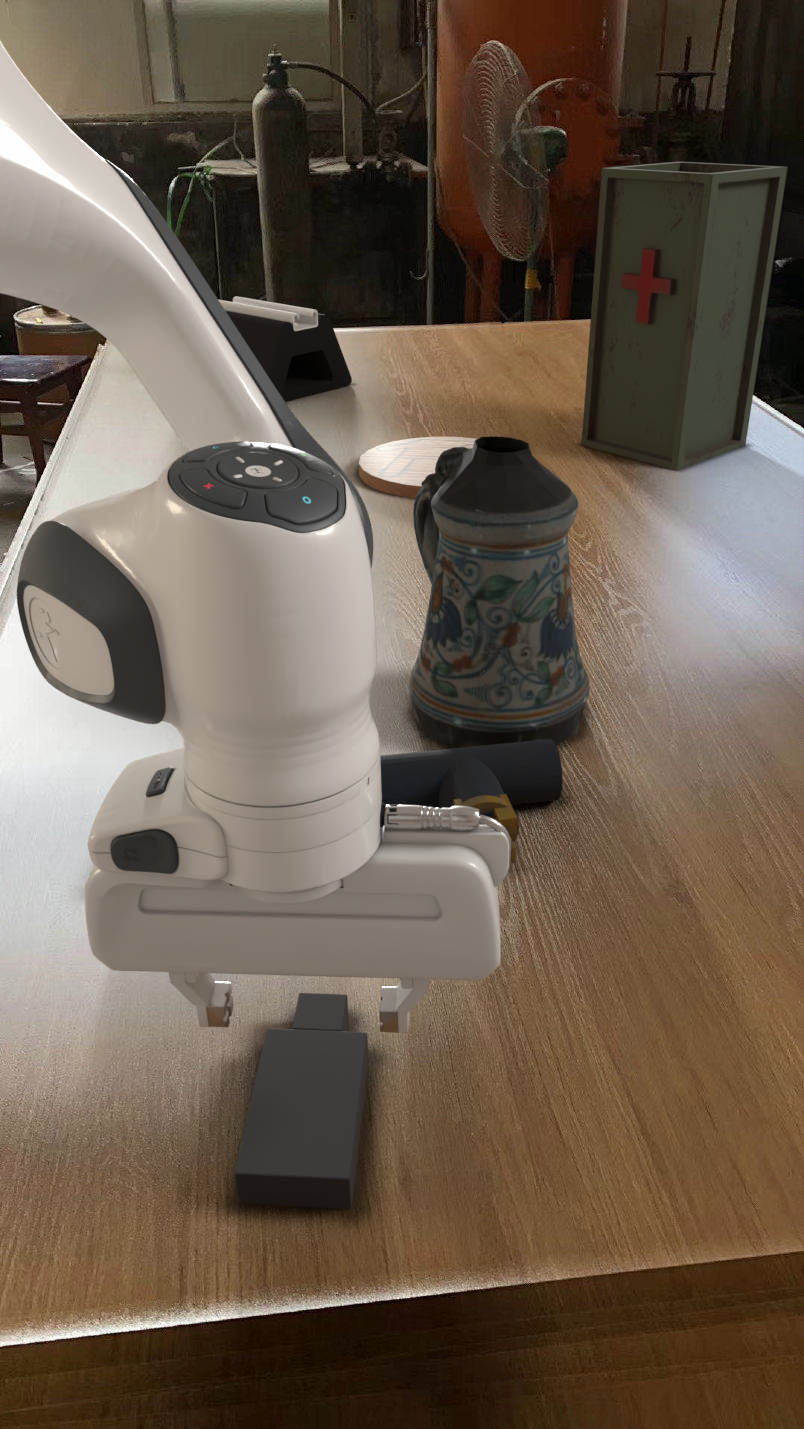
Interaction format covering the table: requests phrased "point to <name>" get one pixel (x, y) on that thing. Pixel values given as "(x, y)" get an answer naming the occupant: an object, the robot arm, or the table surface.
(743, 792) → the table surface
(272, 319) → the device stand
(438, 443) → the trivet
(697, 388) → the first aid box
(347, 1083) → the black tile
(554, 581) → the beer stein
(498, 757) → the pipe connector
